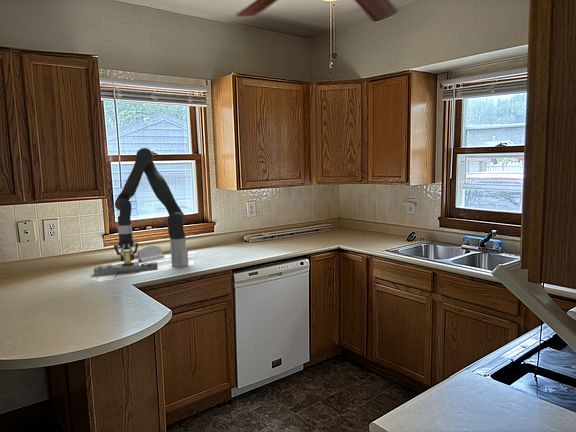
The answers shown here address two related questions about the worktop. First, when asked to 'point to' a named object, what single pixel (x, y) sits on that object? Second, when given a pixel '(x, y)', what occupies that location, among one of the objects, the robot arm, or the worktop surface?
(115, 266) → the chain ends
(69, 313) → the worktop surface
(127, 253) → the brass pin
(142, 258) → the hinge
